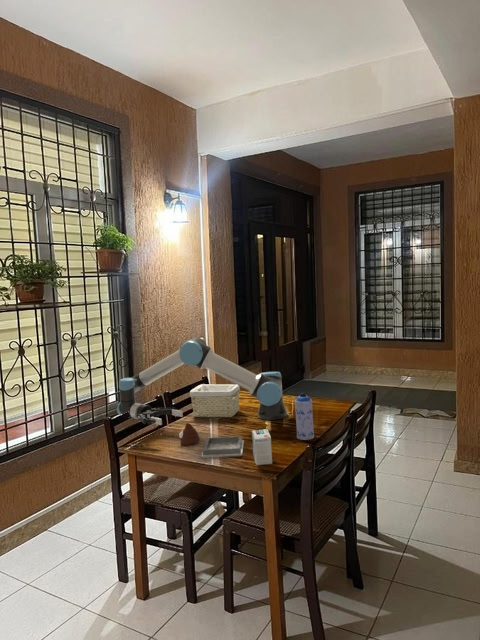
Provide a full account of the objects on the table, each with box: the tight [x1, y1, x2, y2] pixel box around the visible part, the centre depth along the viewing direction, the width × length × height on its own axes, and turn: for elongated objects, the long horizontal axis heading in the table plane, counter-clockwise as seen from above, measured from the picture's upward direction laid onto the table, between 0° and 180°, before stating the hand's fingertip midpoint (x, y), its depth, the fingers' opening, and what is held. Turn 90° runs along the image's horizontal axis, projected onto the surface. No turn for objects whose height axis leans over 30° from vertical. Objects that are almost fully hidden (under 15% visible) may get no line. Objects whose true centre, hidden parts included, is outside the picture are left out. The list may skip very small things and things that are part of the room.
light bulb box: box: [251, 428, 273, 466], centre depth 194 cm, size 11×7×11 cm, turn 5°
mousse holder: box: [200, 435, 245, 459], centre depth 209 cm, size 17×16×3 cm
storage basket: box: [189, 383, 241, 418], centre depth 263 cm, size 24×16×15 cm
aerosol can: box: [294, 392, 315, 441], centre depth 217 cm, size 8×8×20 cm
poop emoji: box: [178, 422, 200, 447], centre depth 221 cm, size 10×8×9 cm
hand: (171, 417), depth 226 cm, fingers open, 13 cm apart
